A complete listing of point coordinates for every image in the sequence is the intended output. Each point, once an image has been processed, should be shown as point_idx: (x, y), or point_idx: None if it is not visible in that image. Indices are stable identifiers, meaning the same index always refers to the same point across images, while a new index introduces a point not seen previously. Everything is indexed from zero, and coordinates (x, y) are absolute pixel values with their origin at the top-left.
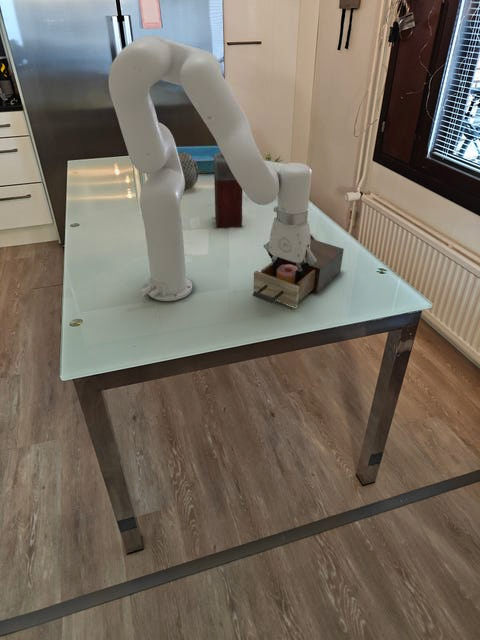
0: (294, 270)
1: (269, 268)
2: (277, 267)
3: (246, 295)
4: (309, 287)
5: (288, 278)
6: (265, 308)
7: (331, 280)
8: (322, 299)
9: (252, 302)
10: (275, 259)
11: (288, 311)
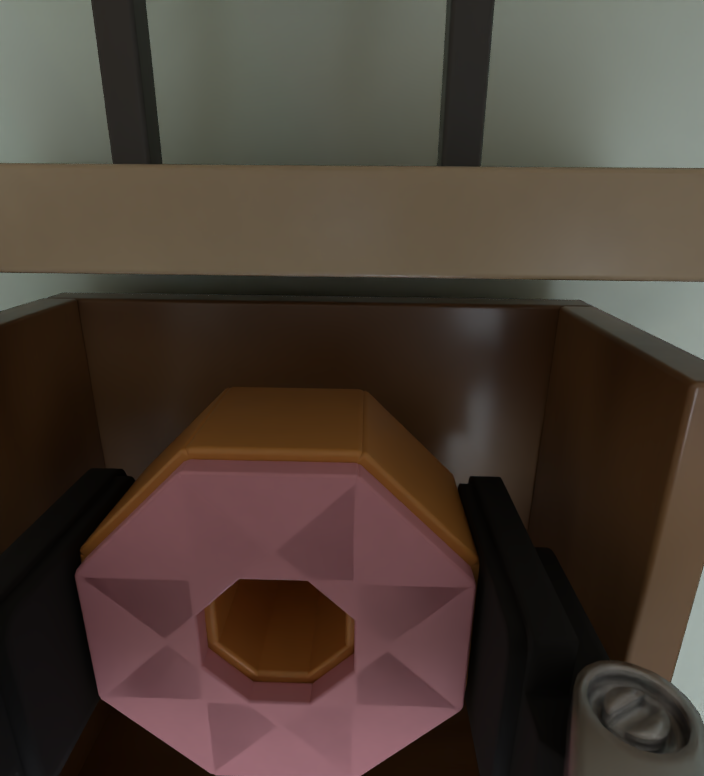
0: (178, 672)
1: (625, 556)
2: (484, 611)
3: (679, 126)
4: None
5: (170, 457)
6: (336, 10)
7: None
8: None
9: (541, 27)
10: (593, 766)
11: (95, 134)
